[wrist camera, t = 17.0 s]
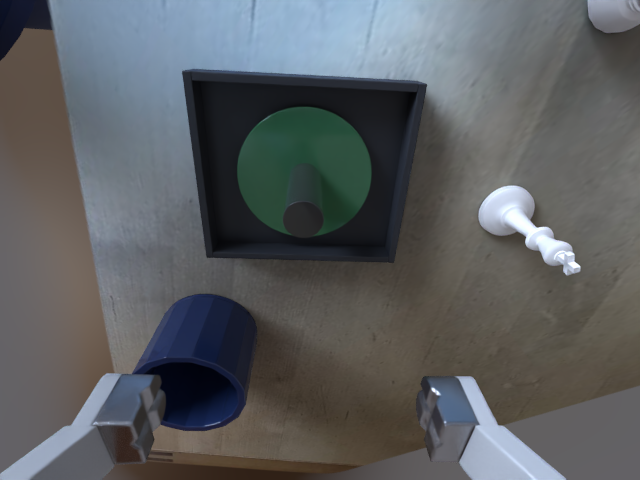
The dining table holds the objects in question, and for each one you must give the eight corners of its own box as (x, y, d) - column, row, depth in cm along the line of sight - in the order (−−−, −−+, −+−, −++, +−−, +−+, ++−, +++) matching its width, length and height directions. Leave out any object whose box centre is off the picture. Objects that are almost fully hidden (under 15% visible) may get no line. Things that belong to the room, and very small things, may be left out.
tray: (213, 243, 33) (206, 257, 31) (193, 68, 26) (181, 70, 24) (388, 248, 34) (394, 263, 32) (417, 80, 27) (427, 83, 24)
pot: (171, 361, 41) (141, 431, 34) (155, 292, 36) (115, 356, 28) (259, 363, 41) (248, 431, 34) (255, 294, 36) (241, 357, 29)
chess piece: (531, 178, 31) (619, 230, 22) (531, 225, 33) (611, 288, 24) (476, 194, 31) (540, 250, 23) (480, 238, 34) (539, 305, 25)
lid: (243, 229, 32) (221, 289, 24) (234, 101, 26) (202, 123, 18) (362, 233, 32) (379, 293, 24) (378, 108, 27) (406, 132, 19)
